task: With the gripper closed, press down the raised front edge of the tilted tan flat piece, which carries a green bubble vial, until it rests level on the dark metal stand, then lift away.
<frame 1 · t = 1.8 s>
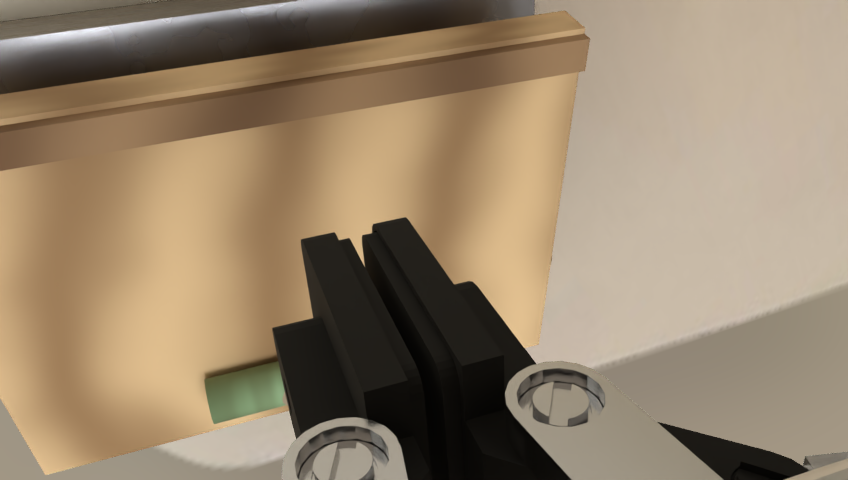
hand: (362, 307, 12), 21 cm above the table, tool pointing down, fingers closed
tan flat piece: (292, 276, 28), point 7 cm above the table, hinge at 12.0°
stand: (264, 190, 33), on the table
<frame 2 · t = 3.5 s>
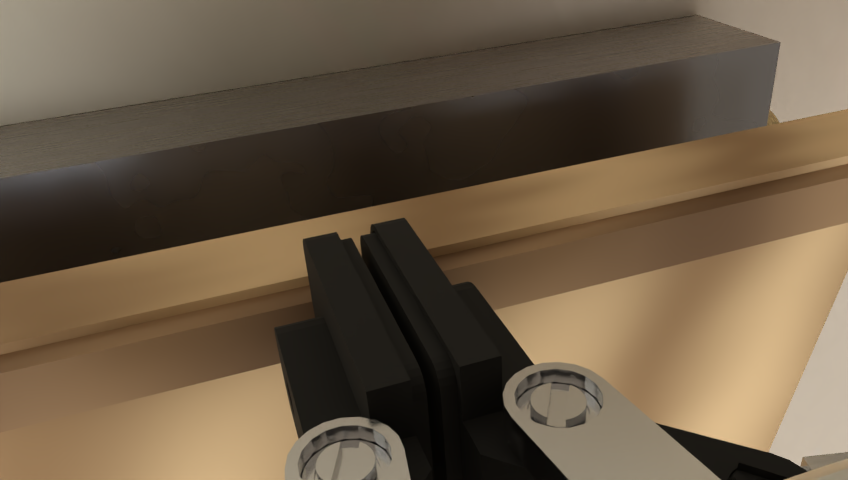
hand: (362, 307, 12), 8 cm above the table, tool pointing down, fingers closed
stand: (334, 356, 22), on the table
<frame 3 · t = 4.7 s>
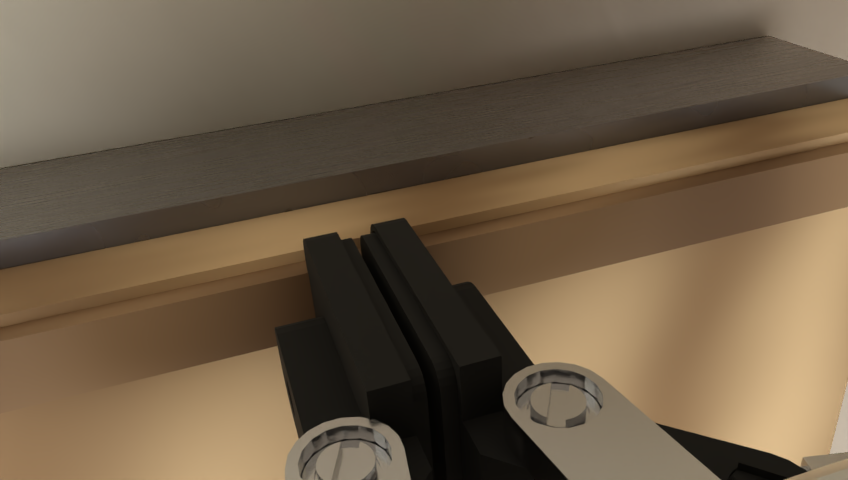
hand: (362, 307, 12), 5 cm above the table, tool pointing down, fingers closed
stand: (358, 416, 20), on the table
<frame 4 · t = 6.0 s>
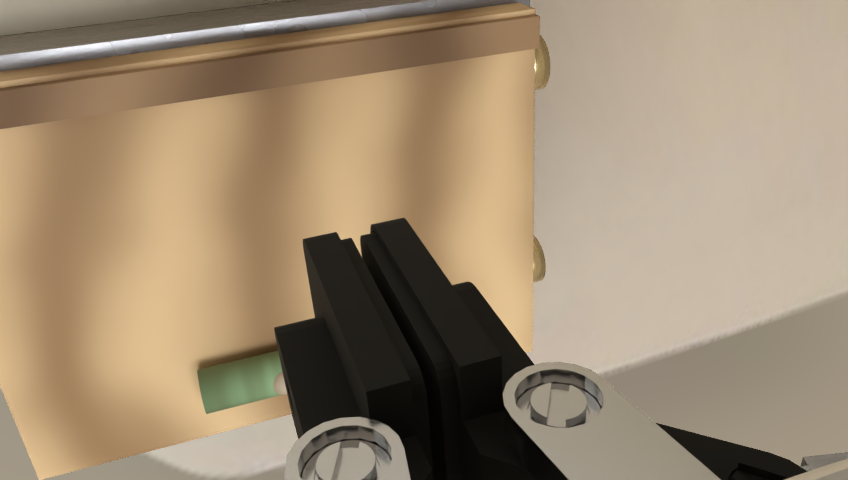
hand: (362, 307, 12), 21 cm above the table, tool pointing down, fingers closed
tan flat piece: (280, 255, 29), point 5 cm above the table, hinge at -0.7°
stand: (261, 202, 34), on the table
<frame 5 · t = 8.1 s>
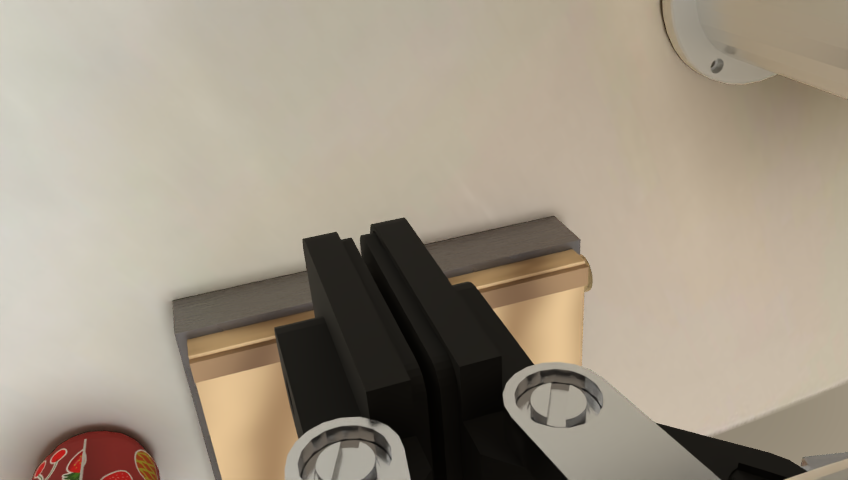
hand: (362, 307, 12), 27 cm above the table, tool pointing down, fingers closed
tan flat piece: (413, 423, 44), point 5 cm above the table, hinge at -0.7°
stand: (388, 370, 48), on the table
smoothie: (98, 465, 44), on the table
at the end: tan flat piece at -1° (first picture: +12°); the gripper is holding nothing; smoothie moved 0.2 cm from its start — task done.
